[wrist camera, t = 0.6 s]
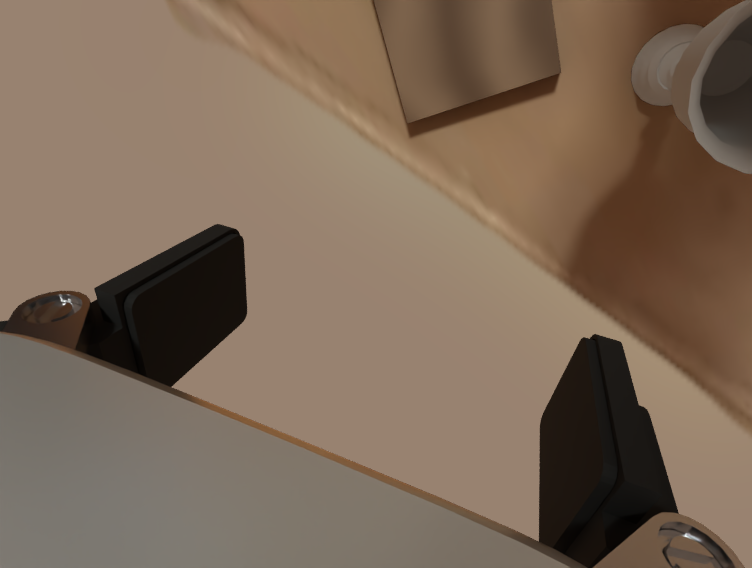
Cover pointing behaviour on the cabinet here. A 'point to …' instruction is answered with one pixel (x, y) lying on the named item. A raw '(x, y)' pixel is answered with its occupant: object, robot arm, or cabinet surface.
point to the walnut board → (465, 49)
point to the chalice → (705, 81)
